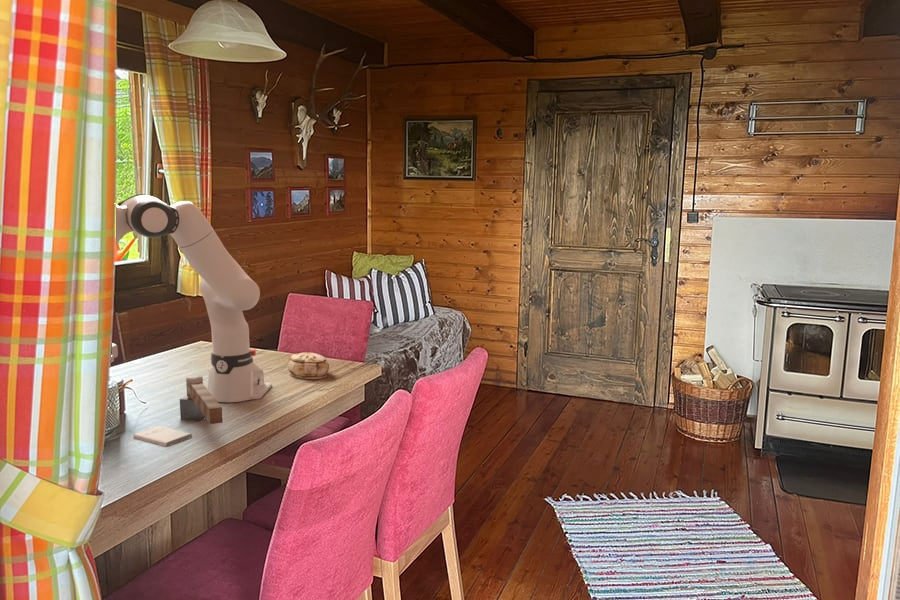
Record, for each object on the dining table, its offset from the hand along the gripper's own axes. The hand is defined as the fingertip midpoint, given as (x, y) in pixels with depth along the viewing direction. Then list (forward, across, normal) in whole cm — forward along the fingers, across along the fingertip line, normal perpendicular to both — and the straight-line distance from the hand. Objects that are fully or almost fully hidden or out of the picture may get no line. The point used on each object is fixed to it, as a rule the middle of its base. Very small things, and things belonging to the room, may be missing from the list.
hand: (110, 360), depth 187 cm
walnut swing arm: (+21, +8, +14) cm, 27 cm away
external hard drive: (+13, +1, +21) cm, 25 cm away
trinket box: (+25, +69, +22) cm, 76 cm away
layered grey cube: (+13, +18, +20) cm, 30 cm away
